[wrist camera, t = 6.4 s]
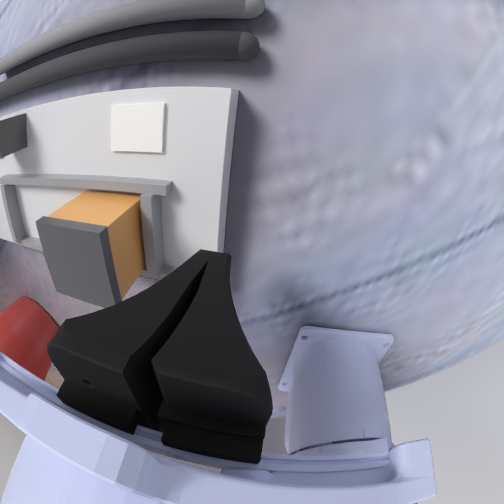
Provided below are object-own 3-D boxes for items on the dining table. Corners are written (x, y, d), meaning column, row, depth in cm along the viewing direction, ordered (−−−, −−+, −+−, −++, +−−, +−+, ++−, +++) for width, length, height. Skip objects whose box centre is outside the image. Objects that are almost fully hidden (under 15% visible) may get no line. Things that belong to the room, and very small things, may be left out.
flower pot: (22, 323, 28) (-10, 368, 20) (6, 271, 22) (-39, 321, 14) (74, 359, 29) (45, 412, 21) (64, 313, 23) (19, 378, 15)
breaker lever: (151, 262, 15) (117, 311, 11) (94, 250, 15) (56, 291, 12) (145, 194, 13) (99, 233, 9) (84, 188, 13) (35, 221, 9)
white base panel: (222, 270, 18) (204, 320, 14) (12, 228, 18) (-18, 251, 15) (239, 90, 12) (217, 85, 8) (-4, 119, 13) (-41, 133, 9)
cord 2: (258, 64, 11) (255, 59, 10) (-8, 105, 12) (-21, 109, 10) (262, 36, 10) (259, 29, 9) (-7, 89, 11) (-20, 92, 10)
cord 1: (264, 23, 10) (261, 14, 8) (3, 75, 10) (-11, 78, 9) (268, -1, 9) (265, -12, 7) (4, 59, 10) (-9, 61, 8)
